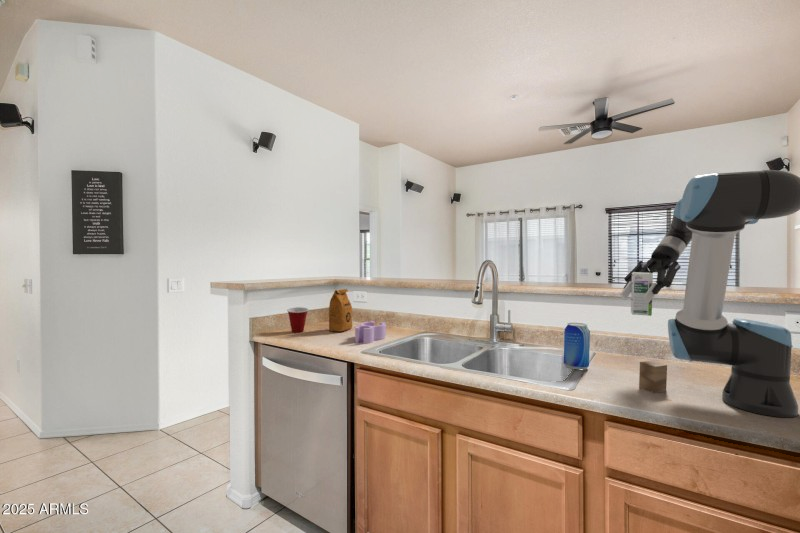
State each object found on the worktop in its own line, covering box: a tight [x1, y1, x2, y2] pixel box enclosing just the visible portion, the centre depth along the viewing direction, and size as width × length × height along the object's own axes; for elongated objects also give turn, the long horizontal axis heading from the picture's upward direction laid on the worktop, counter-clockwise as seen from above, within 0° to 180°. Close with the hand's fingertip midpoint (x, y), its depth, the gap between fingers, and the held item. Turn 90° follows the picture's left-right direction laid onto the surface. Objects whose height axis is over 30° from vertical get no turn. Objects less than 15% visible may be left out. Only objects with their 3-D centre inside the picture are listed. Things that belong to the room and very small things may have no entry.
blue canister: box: [563, 322, 591, 371], centre depth 137 cm, size 8×8×16 cm
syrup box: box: [630, 272, 654, 317], centre depth 130 cm, size 6×6×14 cm
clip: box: [354, 320, 387, 345], centre depth 181 cm, size 20×12×7 cm, turn 158°
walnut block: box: [638, 360, 668, 394], centre depth 116 cm, size 5×5×8 cm
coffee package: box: [328, 288, 353, 333], centre depth 199 cm, size 10×12×22 cm
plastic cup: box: [286, 306, 309, 334], centre depth 195 cm, size 11×11×12 cm
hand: (634, 298), depth 129 cm, fingers closed on syrup box, 8 cm apart
